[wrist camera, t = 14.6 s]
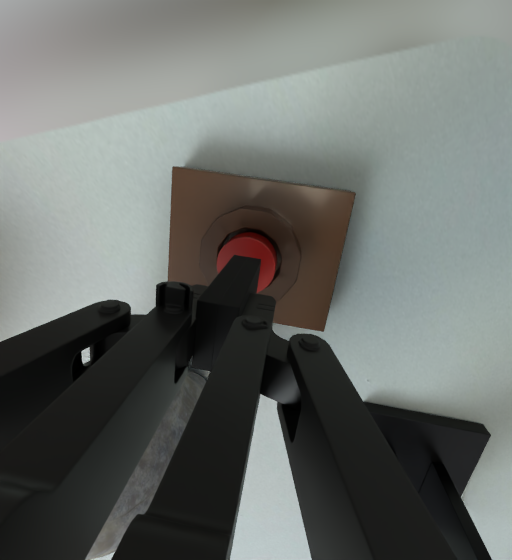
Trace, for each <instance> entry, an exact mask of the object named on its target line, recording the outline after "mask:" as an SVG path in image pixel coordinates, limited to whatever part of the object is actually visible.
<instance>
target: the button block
mask: <svg viewBox="0 0 512 560" xmlns="http://www.w3.org/2000/svg"><path fill="white" fill-rule="evenodd" d="M355 195H356V193H355V192H352V191H349V190H342V189H335V188H328V187H321V186H314V185H307V184H300V183H293V182H286V181H279V180H272V179H265V178H258V177H251V176H244V175H237V174H230V173H223V172H216V171H209V170H202V169H195V168H188V167H173V168H172V192H171V216H170V240H169V264H168V281H177V282H183V283H187V284H189V285H191V286H193V285H195V284H199V285H205V286H209V285H210V284H211V282H212V281H213V280H214V279H215V278H216V276H217V275H218V271H217V257H218V254H219V252H220V250H221V249H222V247H223V246H224V245H225V244H226V243H227V242H228V241H229V240H230V239H231V238H232V237H234V236H235V235H238V234H240V233H244V232H253V233H257V234H260V235H262V236H264V237H265V238H267V239H268V240H269V241H270V242H271V244H272V245H273V247H274V249H275V251H276V255H277V265H276V270H275V274H274V277H273V279H272V281H271V283H270V284H269V285H268V286H267V287H266V288H265V289H264V290H262V291H260V292H258V293H257V294H262V295H267V296H273V298H274V299H275V300H276V306H275V312H274V318H273V323H277V324H282V325H288V326H294V327H299V328H305V329H311V330H317V331H322V332H324V329H325V325H326V321H327V316H328V312H329V308H330V303H331V299H332V295H333V290H334V286H335V282H336V277H337V273H338V269H339V264H340V260H341V256H342V251H343V247H344V243H345V238H346V234H347V230H348V225H349V221H350V217H351V212H352V208H353V204H354V199H355Z"/></svg>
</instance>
